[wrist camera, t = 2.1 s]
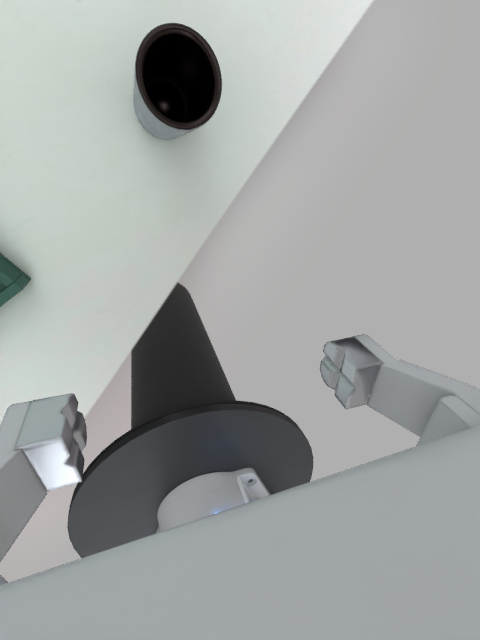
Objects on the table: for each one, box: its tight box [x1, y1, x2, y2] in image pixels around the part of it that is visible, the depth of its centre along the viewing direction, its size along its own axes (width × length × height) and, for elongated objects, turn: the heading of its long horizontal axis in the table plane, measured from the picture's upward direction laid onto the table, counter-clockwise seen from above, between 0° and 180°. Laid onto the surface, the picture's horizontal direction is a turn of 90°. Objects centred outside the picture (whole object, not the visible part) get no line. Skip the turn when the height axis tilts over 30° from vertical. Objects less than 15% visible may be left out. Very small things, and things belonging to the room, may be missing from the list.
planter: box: [134, 23, 222, 139], centre depth 20 cm, size 4×4×10 cm
